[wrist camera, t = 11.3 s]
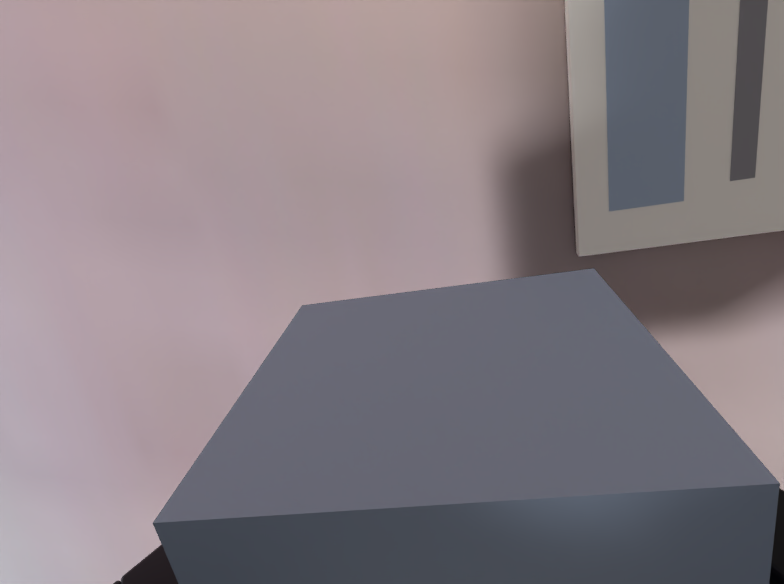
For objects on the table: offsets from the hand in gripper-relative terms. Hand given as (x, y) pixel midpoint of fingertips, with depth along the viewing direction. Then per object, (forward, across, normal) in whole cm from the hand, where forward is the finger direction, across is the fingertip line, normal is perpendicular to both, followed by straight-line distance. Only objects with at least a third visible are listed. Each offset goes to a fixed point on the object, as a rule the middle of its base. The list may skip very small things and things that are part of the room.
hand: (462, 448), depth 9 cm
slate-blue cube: (+1, 0, 0) cm, 1 cm away
